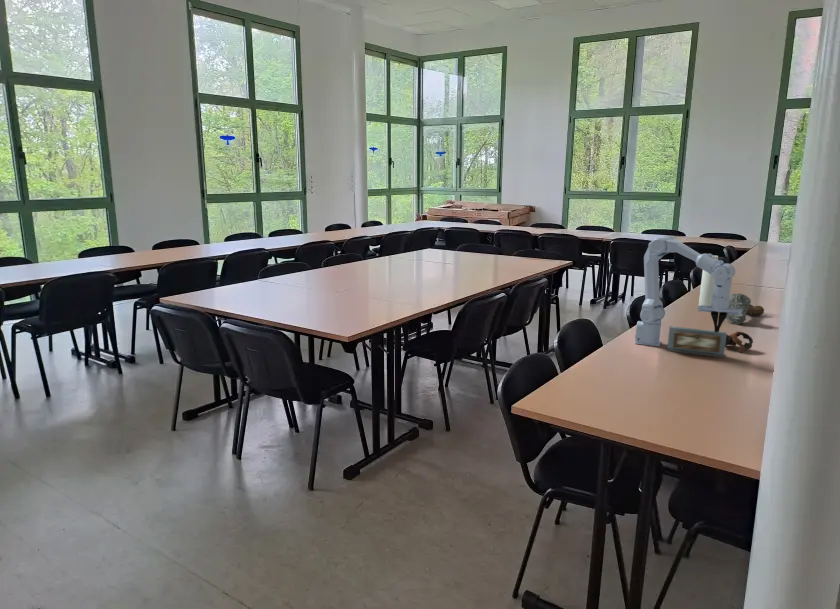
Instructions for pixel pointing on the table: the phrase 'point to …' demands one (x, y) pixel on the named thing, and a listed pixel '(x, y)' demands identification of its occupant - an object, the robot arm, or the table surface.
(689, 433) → the table surface
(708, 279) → the bottle
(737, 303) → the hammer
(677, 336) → the brown rectangular panel
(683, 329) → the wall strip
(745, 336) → the pottery mug
